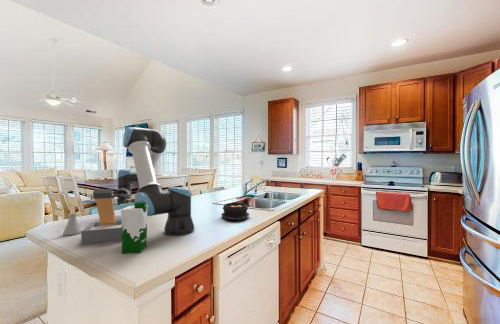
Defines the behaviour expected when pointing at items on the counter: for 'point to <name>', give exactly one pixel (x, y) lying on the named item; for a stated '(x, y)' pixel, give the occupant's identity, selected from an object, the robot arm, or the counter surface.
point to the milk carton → (134, 228)
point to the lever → (105, 206)
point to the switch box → (101, 233)
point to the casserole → (235, 211)
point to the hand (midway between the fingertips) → (114, 201)
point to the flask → (72, 225)
